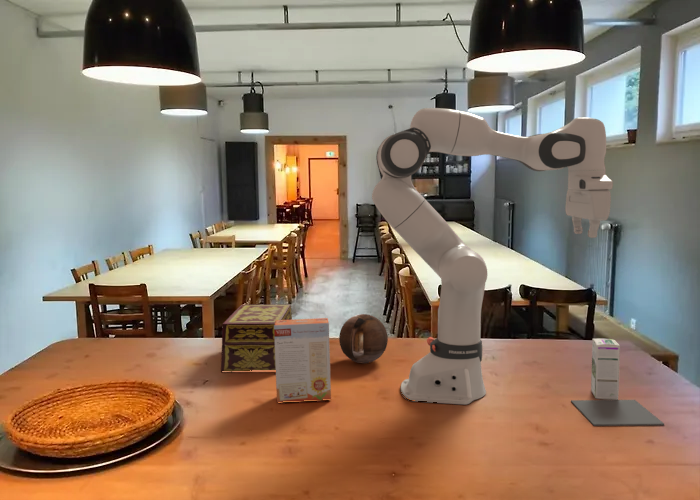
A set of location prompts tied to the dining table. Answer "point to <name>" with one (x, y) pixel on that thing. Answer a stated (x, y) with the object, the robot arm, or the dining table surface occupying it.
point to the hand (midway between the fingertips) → (585, 235)
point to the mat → (616, 413)
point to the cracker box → (302, 359)
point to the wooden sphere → (363, 338)
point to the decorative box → (251, 337)
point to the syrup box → (605, 369)
